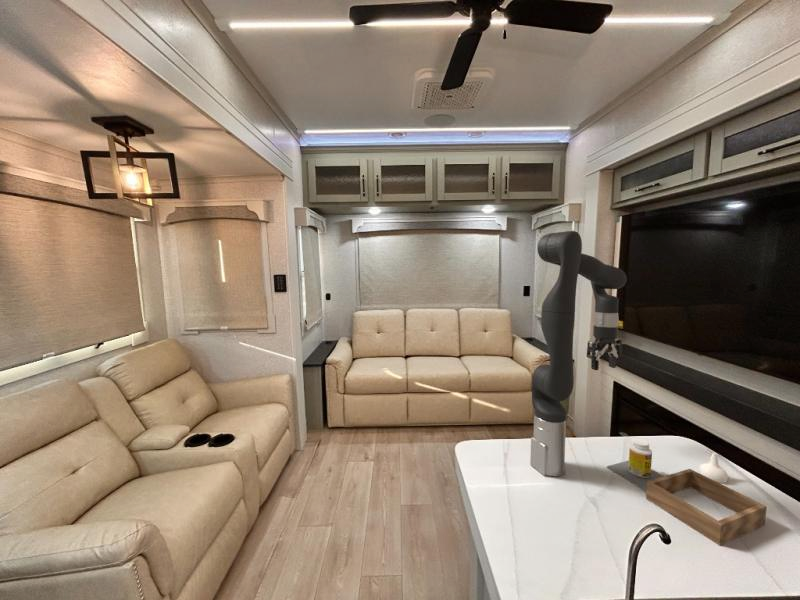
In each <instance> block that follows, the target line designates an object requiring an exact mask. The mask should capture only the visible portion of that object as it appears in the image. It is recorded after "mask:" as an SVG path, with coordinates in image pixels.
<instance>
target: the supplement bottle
mask: <svg viewBox="0 0 800 600" xmlns="http://www.w3.org/2000/svg"><path fill="white" fill-rule="evenodd" d="M652 459H653V451H652V449H650V443H649V442H648V441H647V440H644V439H641V438H634V439H633V440H632V444H630V445H629V453H628V460H629V467H628V469H629V471H630V472H631V473H632V474H634V475H635V476H638V477H641V478H648V477H650V475H651V469H652V461H653V460H652Z"/></svg>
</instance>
